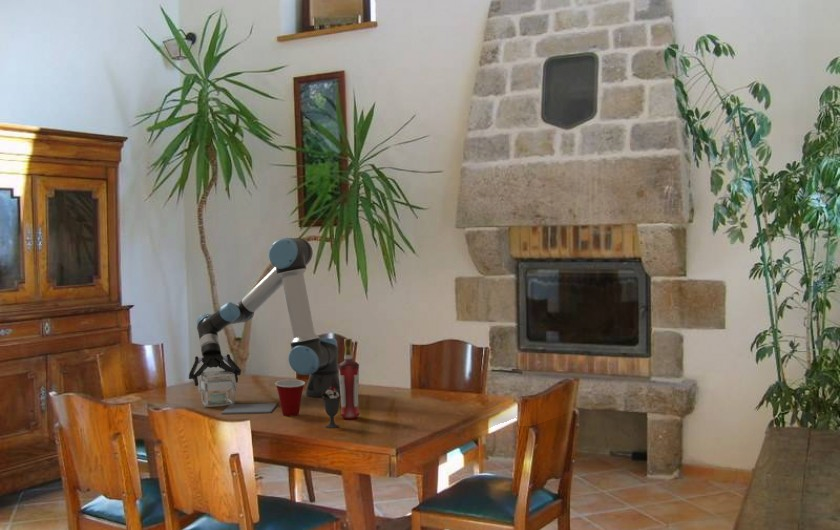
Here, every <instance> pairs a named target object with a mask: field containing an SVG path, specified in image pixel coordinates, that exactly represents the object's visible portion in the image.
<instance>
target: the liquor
mask: <svg viewBox="0 0 840 530" xmlns="http://www.w3.org/2000/svg"><path fill="white" fill-rule="evenodd" d="M343 342H344V343H343V344H344V359H343V361H342V362H341V361H340V363H338V376H339V383H340V395H339V396H341V398H340V408H341V409H340V410H341V412H340V415H339V416H341V418H343V419H344V420H355V418H356V419H357V418H358V417H359V415H360V411H359V384H360V383H359V382H360V381H359V380H360V364H359V363H358V362H356V361H354V360H353V352H352V350H353V349H352V347H353V346H352V345H353V340H352V338H344V341H343Z"/></svg>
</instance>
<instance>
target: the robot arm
mask: <svg viewBox="0 0 840 530" xmlns="http://www.w3.org/2000/svg"><path fill="white" fill-rule="evenodd" d="M313 253H314V252H313V248H312V246H311V244H310V243H309V241H307V240H306V239H304V238H300V237H290V238H289V237H284V238H280V239H277V240H275V241H274V242H273V243H272V245H271V246H270V248H269V251H268V260H269V261H270V263H271V265H272V266H274V267H273V268H272V269H271V270H270V271H269V272H268V273H267V274H266V275H265V276H264V277H263V278H262V279H261V280H260V281H259V282H258V283H257V284H256V285H255V286H254V287H253V288H252V289H251V290H250V291H249V292H248V293H247V294H246V295H245V296H244V297H243V298H242V299H241V300H240V301H239V302H238V303H237V304H235V303H233V302H231V301H228V302H226V303H225V304H223V305H221V306H220V308H218V309H217V310H216V311H215V312H213V313H212V314H211V313H205V314H200V316H198V318H197V319H196V330H197V333H198V339H199V344H200V351H201V357H198V355H196V356H195V357H194V363H193V364H192V367H191V369H190V372H189V374H188V379H189V380H193V382H194V386H195V387H197V390H198V394H199V395H200V394H201V390H202V389H201V372H205V370H206V369H208V368H209V369H211V368H218V367H219V368H220V369H222V370H223V371H226V370H227V371H230V372H232V373H233V374H234V392H237V387H238V386H237V384H238V380H239V378H238V376H241V373H242V369H241V368H240V367H239V366H238V365H237V363H236V362H235V361H234V360H233V359H232V358H231V355H230V354H228V353H227V354H226V355H222V351H221V345H220V340H219V334H218V333H219V332H221V331H222V330H224V329H225V328H226V327H228V326H230V325H234V324H240V323H246V322H249V321H251V320H252V319H253V318H254V315H255V313H256V311H258V309H260V307H261V306H263V305H264V304H265V303H266V302H267V300H269V299H270V298H271V297H272V296H273V295H274V294H275V293H276V292H277V291H278V290H279V289H280V288H281V287H282V286H283V291H284V296H285V301H286V307H287V311H288V316H289V322H290V327H291V333H292V339H291V341H290V342H289V344H290V348H291V350H290V352H289V354H288V363H289V366H290V368H291V369H292V370H293V371H294V372H295V373H297V374H298V375H301V376H302V375H303V376H304V375H309V377H308V380H307V384H306V386H305V395H306V396H307V397H313V398H322V397H323V395H322V394H323V393H324V392H325V393H326V391H327V390H328V389H329V388H330V387H332V388H336V389H337V390H336V391H337V392H338V393H339V396H340V383H339V369H338V365H339V360H338V357H339V356H338V354H339V353H338V351H339V350H338V348H339V347H338V341H337V339H336V338H330V337H329V338H327V337H320V336H319V335H317V334H316V333H315V328H314V327H315V326H314V323H313V317H312V312H311V307H310V301H309V295H308V292H307V291H308V290H307V285H306V281H305V272H306V271H307V265H308V264H309V263H310V262H311V260H312V258H313ZM201 362H202V365H201V366H200V367H199V369H198V370H197V368H198V366H199V364H201ZM334 382H336V383H335V386H334V385H333V384H334ZM332 385H333V386H332Z"/></svg>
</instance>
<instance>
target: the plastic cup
mask: <svg viewBox="0 0 840 530" xmlns="http://www.w3.org/2000/svg"><path fill="white" fill-rule="evenodd" d="M274 385H275V386H276V390H277V393H278V397H279V404H280V409H281V414H282V415H283V416H285V417H292V416H293V417H294V416H298V415H299V413H300V408H301V403H302V402H301V401H302V397H303V395H302V394H303V392H304V391H303V389H304V386H305V385H306V382H305V381H304V380H300V379H282V380H278V381H276V382H274Z"/></svg>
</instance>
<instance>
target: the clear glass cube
mask: <svg viewBox="0 0 840 530" xmlns="http://www.w3.org/2000/svg"><path fill="white" fill-rule="evenodd" d="M230 376H231V377H230ZM217 377H218V378H217ZM220 377H221V378H220ZM208 378H211V379H208ZM200 383H201V389H202V390H201V395H200V396H201V399H200V400H201V404H202V405H203V406H204V408H213V407H223V406H229V405H234V404H236V400H235V395H236V394H235V392H236V391H234V374H233V373H232V372H230V371H227V370H226V371H225V370H217V371H216V370H213V371H212V370H211V371H203V372H201V375H200ZM221 391H226V404H215V405H210V404H209V403H210V399H209V392H221ZM230 391H231V393H230ZM204 393H205V395H204ZM230 397H231V398H232V399H231V398H230Z"/></svg>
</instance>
